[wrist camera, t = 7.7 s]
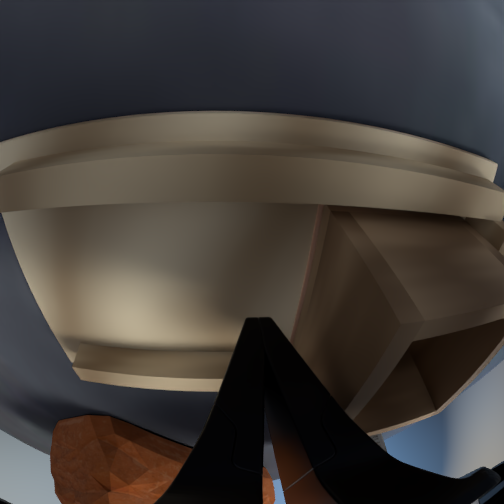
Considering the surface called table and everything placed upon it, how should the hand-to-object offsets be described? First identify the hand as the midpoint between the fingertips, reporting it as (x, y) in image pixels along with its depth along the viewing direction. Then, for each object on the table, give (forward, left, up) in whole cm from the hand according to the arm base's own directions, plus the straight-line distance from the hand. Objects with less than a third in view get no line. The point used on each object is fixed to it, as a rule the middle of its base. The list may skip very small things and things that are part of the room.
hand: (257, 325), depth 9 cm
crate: (-5, 0, -2) cm, 5 cm away
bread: (+8, +29, -3) cm, 30 cm away
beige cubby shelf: (0, 0, -3) cm, 3 cm away
